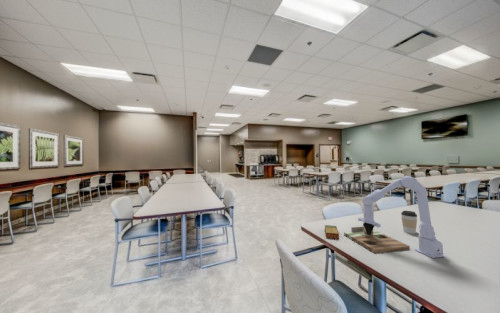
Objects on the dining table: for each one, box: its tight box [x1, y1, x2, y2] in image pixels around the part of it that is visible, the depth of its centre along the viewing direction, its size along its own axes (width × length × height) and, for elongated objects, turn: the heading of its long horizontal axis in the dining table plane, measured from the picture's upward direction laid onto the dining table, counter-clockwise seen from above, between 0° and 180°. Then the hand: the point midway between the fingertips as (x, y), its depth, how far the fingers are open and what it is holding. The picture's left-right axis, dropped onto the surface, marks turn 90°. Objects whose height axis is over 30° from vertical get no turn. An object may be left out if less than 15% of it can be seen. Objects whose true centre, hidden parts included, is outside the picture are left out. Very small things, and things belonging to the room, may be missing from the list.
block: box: [362, 224, 374, 235], centre depth 128 cm, size 5×5×5 cm
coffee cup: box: [400, 210, 418, 235], centre depth 135 cm, size 9×9×15 cm
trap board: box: [343, 225, 411, 254], centre depth 120 cm, size 26×24×5 cm
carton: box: [324, 224, 340, 240], centre depth 133 cm, size 8×16×4 cm, turn 161°
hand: (369, 234), depth 124 cm, fingers closed
